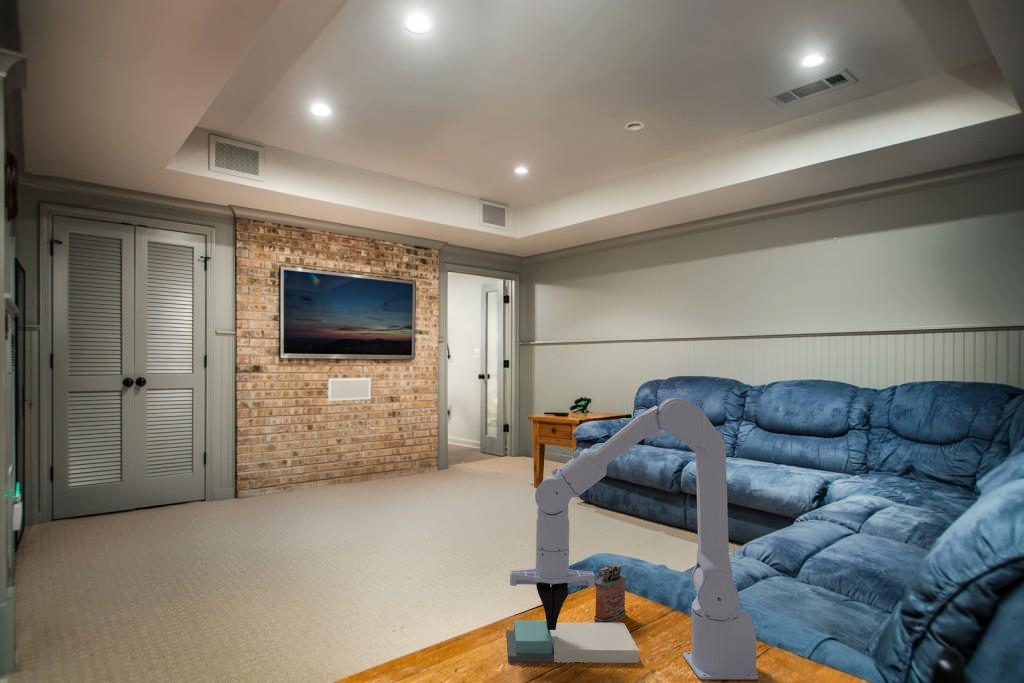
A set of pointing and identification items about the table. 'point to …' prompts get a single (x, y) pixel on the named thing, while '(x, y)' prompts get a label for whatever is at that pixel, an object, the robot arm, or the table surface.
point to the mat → (524, 657)
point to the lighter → (610, 595)
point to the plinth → (593, 643)
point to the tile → (532, 637)
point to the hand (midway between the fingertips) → (551, 627)
